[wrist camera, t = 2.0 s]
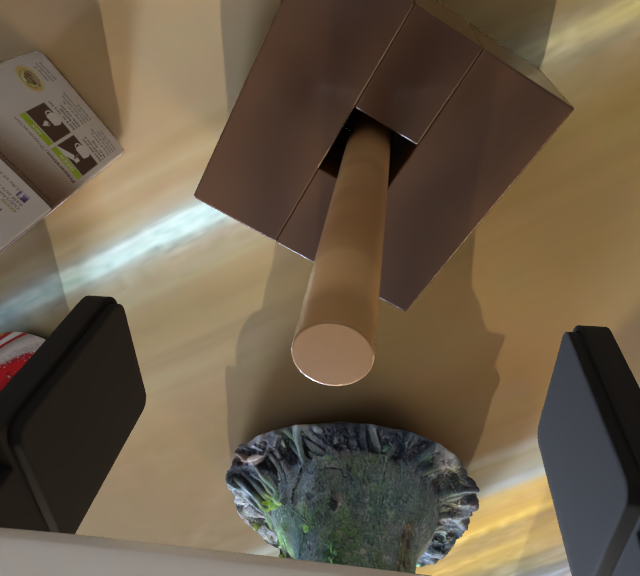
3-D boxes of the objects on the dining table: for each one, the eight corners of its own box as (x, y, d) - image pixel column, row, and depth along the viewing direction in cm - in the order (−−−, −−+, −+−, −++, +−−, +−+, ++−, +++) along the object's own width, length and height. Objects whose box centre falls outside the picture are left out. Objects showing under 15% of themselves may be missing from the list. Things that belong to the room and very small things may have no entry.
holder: (229, 149, 29) (192, 197, 24) (332, -68, 23) (311, -65, 18) (406, 249, 31) (405, 312, 26) (542, 71, 25) (575, 109, 20)
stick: (348, 119, 27) (276, 363, 12) (368, 86, 26) (315, 307, 11) (380, 138, 27) (347, 399, 12) (400, 106, 26) (391, 347, 11)
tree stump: (189, 503, 47) (98, 735, 30) (307, 316, 41) (275, 478, 24) (374, 594, 49) (385, 858, 32) (512, 431, 43) (617, 653, 26)
